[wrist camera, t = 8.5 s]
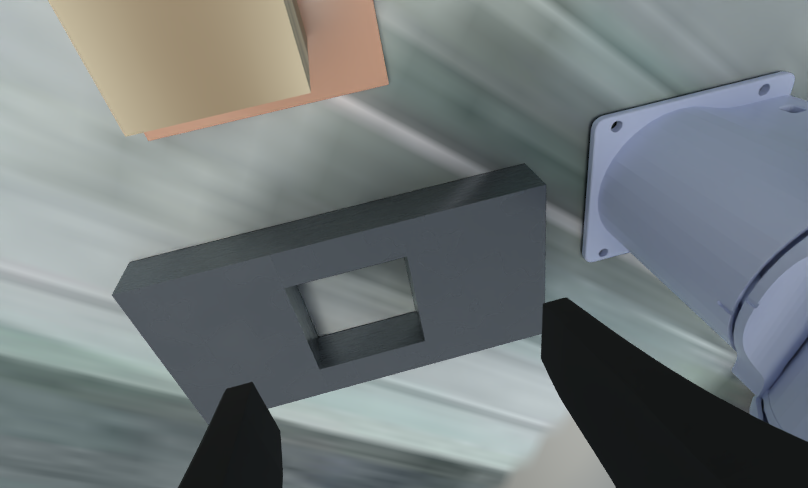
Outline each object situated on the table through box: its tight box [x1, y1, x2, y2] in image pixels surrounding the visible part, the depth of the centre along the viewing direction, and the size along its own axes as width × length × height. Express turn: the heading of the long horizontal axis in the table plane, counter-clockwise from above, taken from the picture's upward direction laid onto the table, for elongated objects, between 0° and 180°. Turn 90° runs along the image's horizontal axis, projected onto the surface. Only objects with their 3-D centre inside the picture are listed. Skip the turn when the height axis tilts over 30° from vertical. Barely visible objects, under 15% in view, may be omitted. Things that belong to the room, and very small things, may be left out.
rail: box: [112, 164, 546, 425], centre depth 22 cm, size 18×9×2 cm, turn 100°
